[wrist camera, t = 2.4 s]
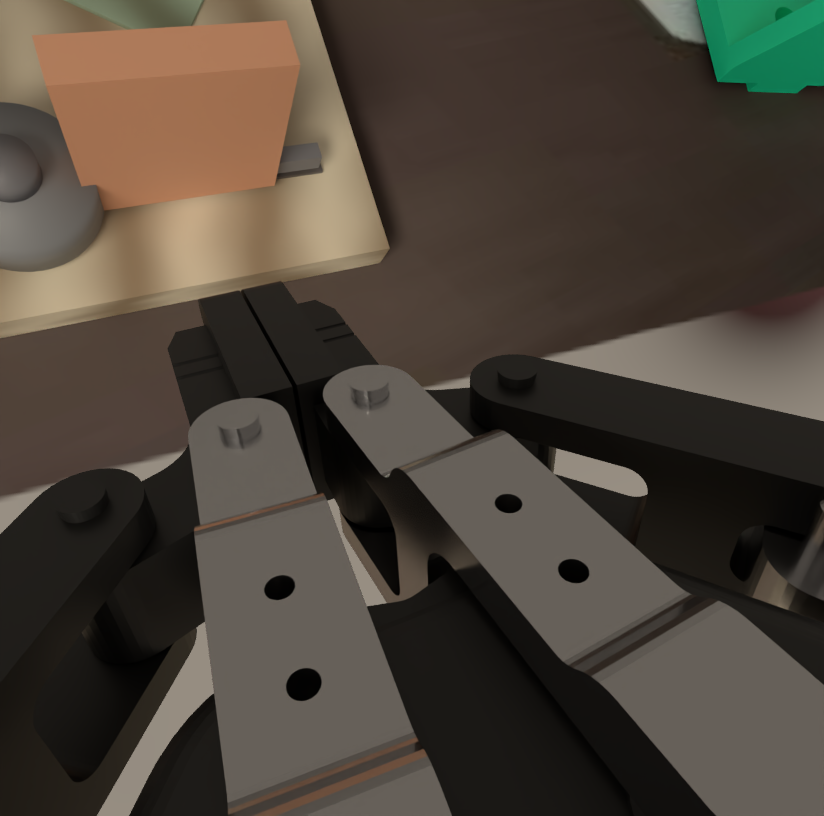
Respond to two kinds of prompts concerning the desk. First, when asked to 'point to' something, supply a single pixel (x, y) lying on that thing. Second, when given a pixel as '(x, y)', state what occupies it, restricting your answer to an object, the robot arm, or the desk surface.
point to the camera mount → (766, 42)
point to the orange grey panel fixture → (142, 129)
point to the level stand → (207, 215)
